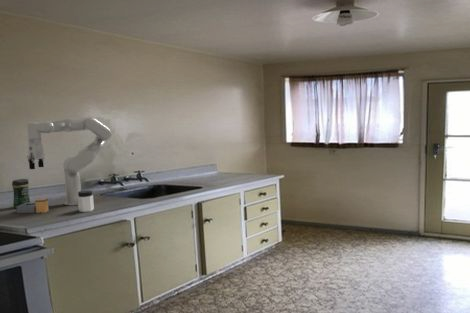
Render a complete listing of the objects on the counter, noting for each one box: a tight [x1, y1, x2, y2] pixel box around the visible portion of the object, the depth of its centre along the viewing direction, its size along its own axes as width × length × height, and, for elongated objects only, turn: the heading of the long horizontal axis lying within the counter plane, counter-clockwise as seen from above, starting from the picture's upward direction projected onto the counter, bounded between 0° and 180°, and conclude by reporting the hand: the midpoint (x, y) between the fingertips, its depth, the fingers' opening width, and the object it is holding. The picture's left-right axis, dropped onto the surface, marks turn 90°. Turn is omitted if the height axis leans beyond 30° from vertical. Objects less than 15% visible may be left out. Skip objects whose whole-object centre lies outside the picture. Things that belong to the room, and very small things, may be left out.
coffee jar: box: [11, 178, 31, 209], centre depth 259 cm, size 10×8×19 cm
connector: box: [34, 197, 50, 214], centre depth 245 cm, size 6×4×8 cm
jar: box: [77, 189, 95, 213], centre depth 245 cm, size 9×8×12 cm
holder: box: [15, 201, 36, 214], centre depth 249 cm, size 11×11×4 cm
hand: (36, 168), depth 251 cm, fingers open, 9 cm apart
